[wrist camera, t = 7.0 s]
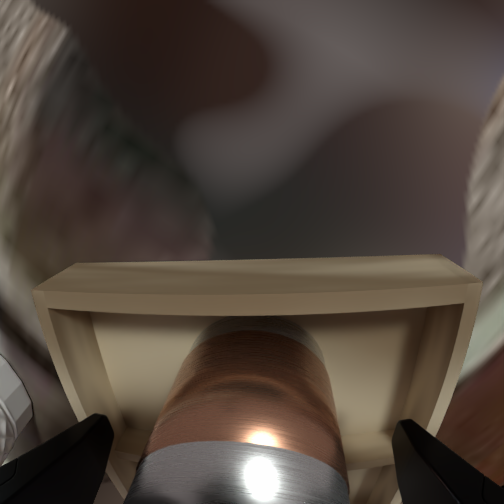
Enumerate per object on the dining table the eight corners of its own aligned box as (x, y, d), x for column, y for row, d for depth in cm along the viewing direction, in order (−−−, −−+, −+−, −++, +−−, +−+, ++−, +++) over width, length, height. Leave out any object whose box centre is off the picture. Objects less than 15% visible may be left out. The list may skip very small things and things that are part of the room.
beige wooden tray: (369, 503, 15) (376, 538, 12) (159, 501, 16) (148, 534, 13) (440, 254, 10) (483, 282, 8) (76, 263, 12) (31, 289, 9)
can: (331, 309, 11) (382, 486, 4) (321, 419, 12) (336, 567, 5) (177, 310, 11) (82, 465, 4) (196, 418, 12) (154, 556, 6)
